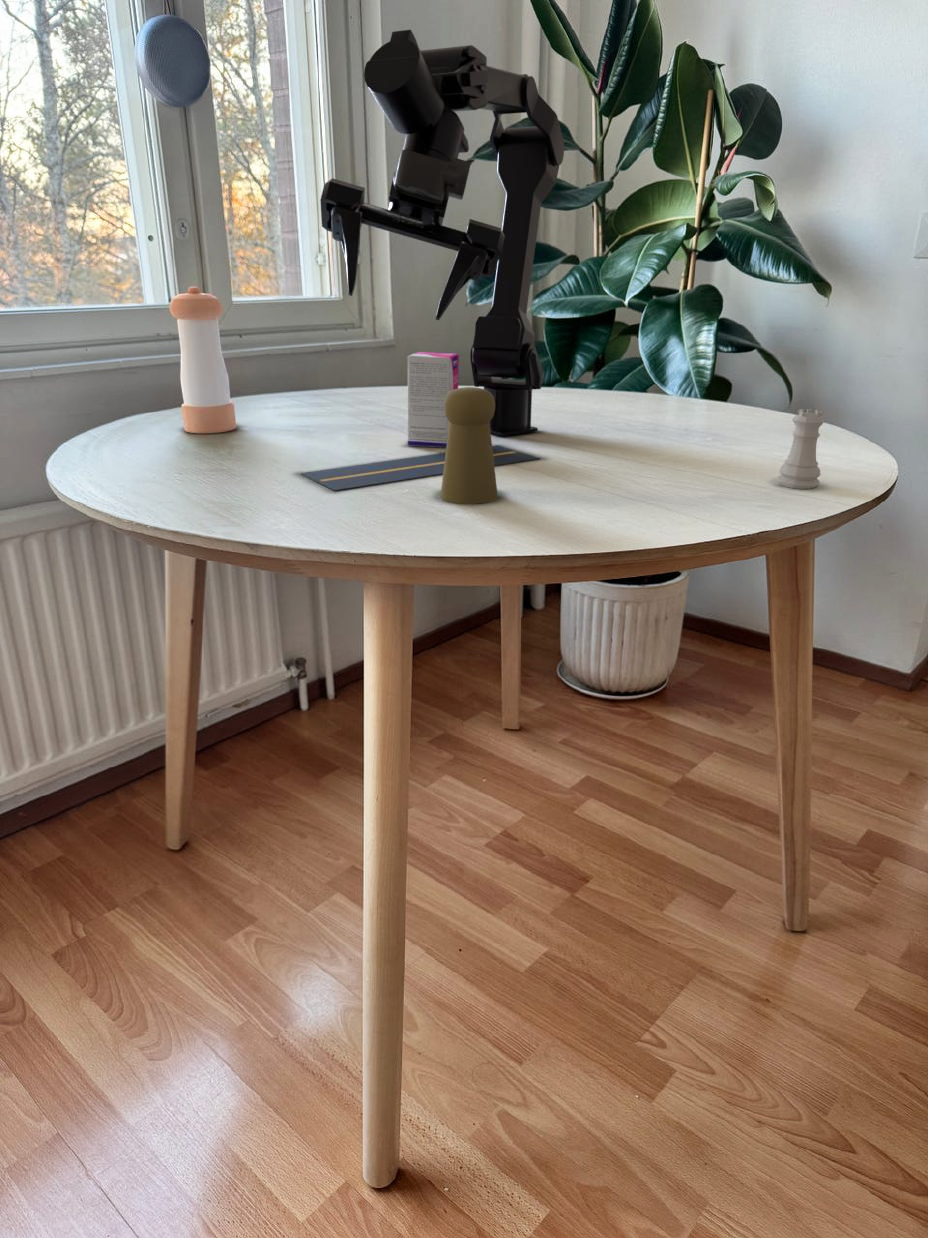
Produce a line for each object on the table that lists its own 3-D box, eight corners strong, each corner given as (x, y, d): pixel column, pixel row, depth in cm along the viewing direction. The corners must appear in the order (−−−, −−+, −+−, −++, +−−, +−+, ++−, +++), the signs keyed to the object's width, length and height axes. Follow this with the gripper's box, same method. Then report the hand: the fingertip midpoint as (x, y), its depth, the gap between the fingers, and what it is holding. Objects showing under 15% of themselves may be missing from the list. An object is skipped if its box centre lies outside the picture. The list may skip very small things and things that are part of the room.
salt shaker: (233, 432, 118) (218, 287, 110) (180, 434, 117) (160, 287, 109) (238, 423, 124) (223, 285, 117) (188, 424, 123) (170, 285, 116)
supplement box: (450, 448, 109) (450, 356, 104) (406, 445, 110) (404, 355, 105) (459, 439, 114) (459, 351, 109) (417, 437, 115) (415, 350, 110)
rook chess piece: (814, 491, 89) (828, 416, 86) (771, 485, 91) (783, 411, 88) (822, 482, 92) (836, 409, 89) (781, 477, 95) (792, 405, 91)
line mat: (497, 445, 110) (497, 445, 110) (540, 458, 103) (540, 457, 103) (300, 474, 96) (300, 473, 96) (334, 491, 89) (334, 490, 89)
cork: (438, 488, 90) (437, 384, 85) (494, 487, 90) (496, 383, 86) (442, 504, 84) (441, 393, 80) (501, 503, 85) (503, 392, 80)
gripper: (338, 84, 78) (299, 241, 76) (529, 144, 80) (495, 296, 79) (339, 156, 89) (305, 294, 87) (507, 207, 91) (477, 341, 90)
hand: (394, 306), depth 85 cm, fingers open, 9 cm apart
